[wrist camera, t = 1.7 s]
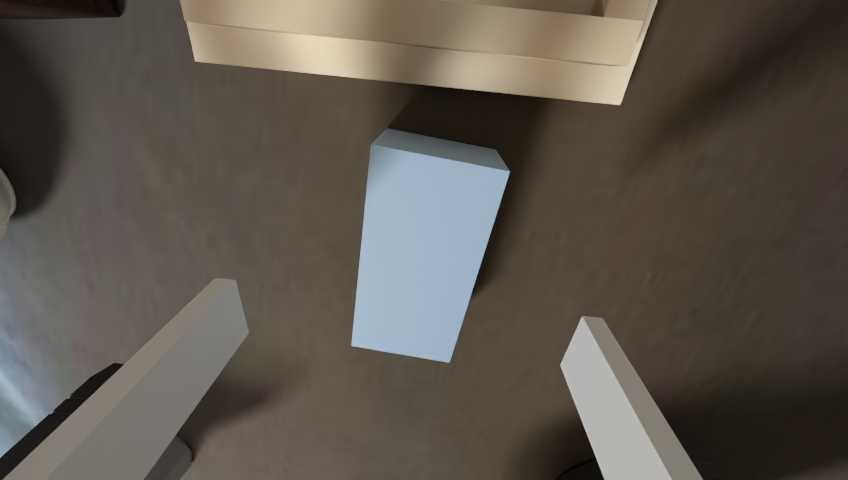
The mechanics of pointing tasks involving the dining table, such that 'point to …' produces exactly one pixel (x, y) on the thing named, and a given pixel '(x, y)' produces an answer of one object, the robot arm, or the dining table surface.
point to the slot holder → (434, 41)
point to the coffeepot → (172, 462)
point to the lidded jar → (6, 202)
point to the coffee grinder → (57, 9)
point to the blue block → (423, 241)
